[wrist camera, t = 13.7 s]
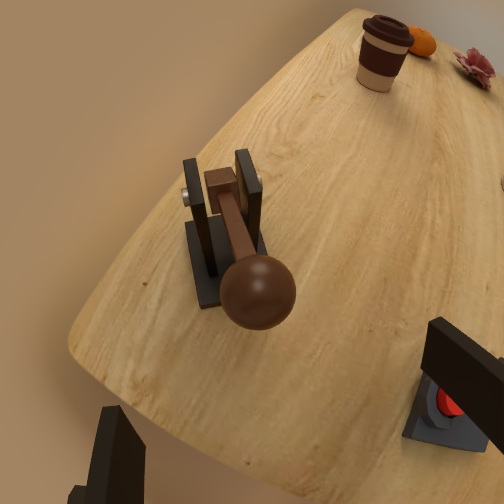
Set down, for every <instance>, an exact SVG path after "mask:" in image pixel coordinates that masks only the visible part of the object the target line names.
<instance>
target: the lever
mask: <svg viewBox="0 0 504 504" xmlns="http://www.w3.org/2000/svg"><path fill="white" fill-rule="evenodd" d="M204 177H205V183H206V189H207V194H208V199H209V203H210V207H211V211H212V214H213V215H214V214H219V213H221V216H222V219H223V223H224V226H225V229H226V233H227V236H228V239H229V243H230V246H231V249H232V252H233V256H234V259H235V263H233V264H232V265H231V266H230V267H229V268H228V270H227V271H226V273H225V274H224V276H223V279H222V281H221V285H220V300H221V304H222V307H223V309H224V311H225V312H226V314H227V315H228V317H229V318H230V319H231V320H232V321H233V322H235V323H236V324H237V325H239V326H241V327H243V328H246V329H250V330H266V329H270V328H272V327H275V326H277V325H278V324H280V323H281V322H283V321H284V320H285V319H286V318H287V316H288V315H289V314H290V312H291V310H292V309H293V306H294V303H295V299H296V286H295V282H294V279H293V276H292V274H291V273H290V271H289V270H288V268H287V267H286V266H285V265H284V264H283V263H281V262H280V261H279V260H277V259H275V258H273V257H270V256H267V255H259V254H257V253H256V251H255V248H254V246H253V243H252V241H251V238H250V236H249V233H248V231H247V228H246V226H245V223H244V221H243V218H242V216H241V213H240V211H239V209H241V202H240V194H239V185H238V180H237V178H236V176H235V174H234V172H233V170H232V168H231V167H226V168H221V169H216V170H210V171H205V172H204Z"/></svg>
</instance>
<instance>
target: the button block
mask: <svg viewBox="0 0 504 504" xmlns="http://www.w3.org/2000/svg"><path fill="white" fill-rule="evenodd" d="M439 388H440V387H439V386H438V385H437V384H436V383H435V382H434V381H433V380H432V379H431V378H430V377H429V376H428V375H427V374H426V373H425V372H424V371H423V375H422V378H421V381H420V385H419V388H418V391H417V394H416V397H415V400H414V403H413V406H412V409H411V412H410V415H409V418H408V421H407V423H406V426H405V429H404V431H403V434H402V437H406V438H410V439H414V440H418V441H423V442H427V443H431V444H436V445H440V446H445V447H450V448H455V449H461V450H466V451H472V452H483V453H484V452H485V450H486V447H487V444H488V441H489V438H488V437H487V436H486V435H485V434H484V433H483V432H482V431H481V430H480V429H479V428H478V427H477V426H476V424H475V423H474V422H473V421H472V420H471V419H470V418H469V417H468V416H467V415H466V414H465V413H464V414H462V415H450V416H448V415H444V414H443V413H442V412H441V411H440V410H439V408H438V405H437V394H438V391H439Z"/></svg>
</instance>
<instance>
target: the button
mask: <svg viewBox="0 0 504 504" xmlns="http://www.w3.org/2000/svg"><path fill="white" fill-rule="evenodd" d="M437 405H438V408H439V410H440V411H441V412H442V413H443V414H444V415H448V416H450V415H462V414H464V412H463V411H462V410H461V409H460V408H459V407H458V406H457V405H456V404H455V403H454V402H453V401H452V399H451V398H450V397H449V396H448V395H447V394H446V393H445V392H444V391H443V390H442V389H441V388H439V391H438V394H437Z"/></svg>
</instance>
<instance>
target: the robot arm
mask: <svg viewBox="0 0 504 504" xmlns="http://www.w3.org/2000/svg"><path fill="white" fill-rule="evenodd" d="M421 369H422V370H423V371H424V372H425V373H426V374H427V375H428V376H429V377H430V378H431V379H432V380H433V381H434V382H435V383H436V384H437V385H438V386H439V387H440V388H441V389H442V390H443V391H444V392H445V393H446V394H447V395H448V396H449V397H450V398H451V399H452V401H453V402H454V403H455V404H456V405H457V406H458V407H459V408H460V409H461V410H462V411H463V412H464V413H465V414H466V415H467V416H468V417H469V418H470V419H471V420H472V421H473V422H474V423H475V424H476V426H477V427H478V428H479V429H480V430H481V431H482V432H483V433H484V434H485V435H486V436H487V437H488V438H489V439H490V440H491V442H492V443H493V444H494V445H495V446H496V447H497V448H498V449H499V450H500V451H501V452H502V454H503V455H504V358H502V357H500V358H499V359H497V358H495V357H494V356H493V355H491V354H490V353H489V352H488V351H486V350H485V349H484V348H482V347H481V346H480V345H479V344H477V343H476V342H475V341H473V340H472V339H471V338H469V337H468V336H467V335H465V334H464V333H463V332H461V331H460V330H459V329H457V328H456V327H455V326H453V325H452V324H451V323H449V322H448V321H447V320H445V319H444V318H442V317H441V316H440V317H438V318H436V319H433V320H431V321H429V323H428V329H427V336H426V342H425V347H424V353H423V358H422V363H421ZM145 449H146V446H145V445H144V443H143V441H142V440H141V438H140V437H139V435H138V434H137V433H136V431H135V429H134V428H133V426H132V425H131V423H130V422H129V420H128V419H127V417H126V415H125V414H124V412H123V410H122V409H121V407H120V405H117V406H107V407H103V408H102V411H101V416H100V420H99V424H98V429H97V433H96V438H95V443H94V447H93V452H92V458H91V463H90V469H89V474H88V480H87V486H80V485H75V486H74V488H73V490H72V491H71V493H70V494H69V496H68V502H67V504H144V473H145V451H146V450H145Z"/></svg>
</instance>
